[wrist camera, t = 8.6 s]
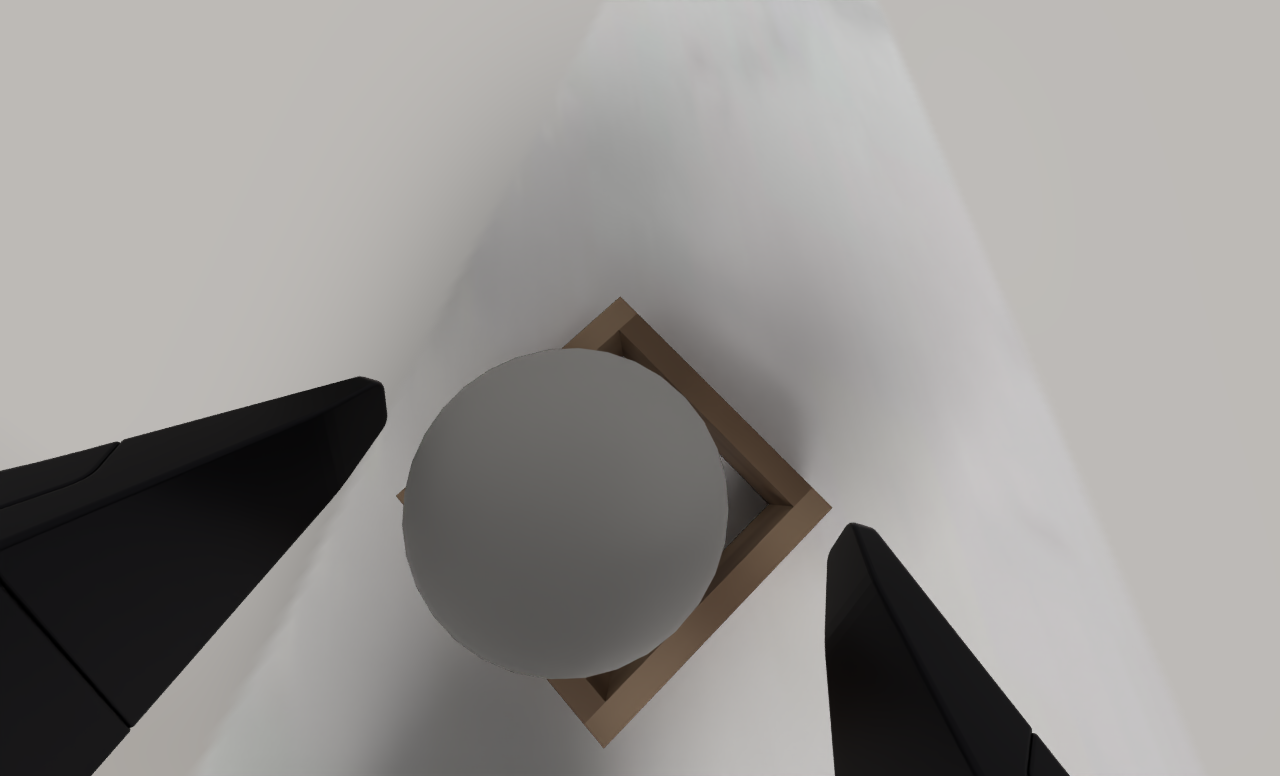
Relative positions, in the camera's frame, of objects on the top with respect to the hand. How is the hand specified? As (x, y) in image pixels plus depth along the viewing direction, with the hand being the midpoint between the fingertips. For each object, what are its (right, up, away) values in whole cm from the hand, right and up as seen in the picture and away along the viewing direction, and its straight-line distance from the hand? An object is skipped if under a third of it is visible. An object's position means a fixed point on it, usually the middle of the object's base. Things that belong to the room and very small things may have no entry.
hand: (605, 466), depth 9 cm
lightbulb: (0, -3, +9) cm, 9 cm away
